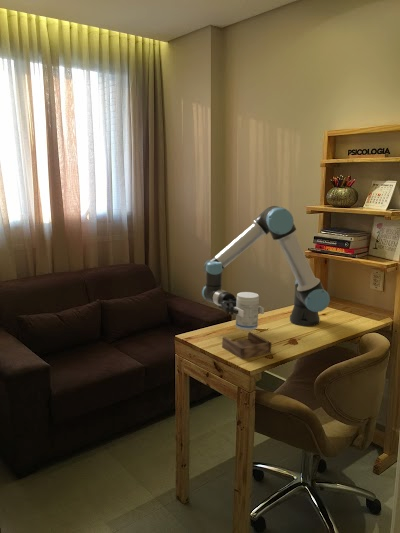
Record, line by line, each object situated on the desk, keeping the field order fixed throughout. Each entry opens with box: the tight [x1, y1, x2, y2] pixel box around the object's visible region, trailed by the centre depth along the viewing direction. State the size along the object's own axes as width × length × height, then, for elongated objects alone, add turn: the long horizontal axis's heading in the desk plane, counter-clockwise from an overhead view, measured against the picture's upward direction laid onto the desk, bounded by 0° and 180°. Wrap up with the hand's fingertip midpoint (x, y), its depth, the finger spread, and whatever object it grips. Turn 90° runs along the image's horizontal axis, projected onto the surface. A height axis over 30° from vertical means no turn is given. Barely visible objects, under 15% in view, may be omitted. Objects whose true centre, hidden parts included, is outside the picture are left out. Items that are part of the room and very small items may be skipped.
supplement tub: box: [235, 291, 260, 332], centre depth 194 cm, size 10×10×15 cm
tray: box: [221, 331, 272, 360], centre depth 197 cm, size 15×15×4 cm
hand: (253, 312), depth 190 cm, fingers closed on supplement tub, 9 cm apart
